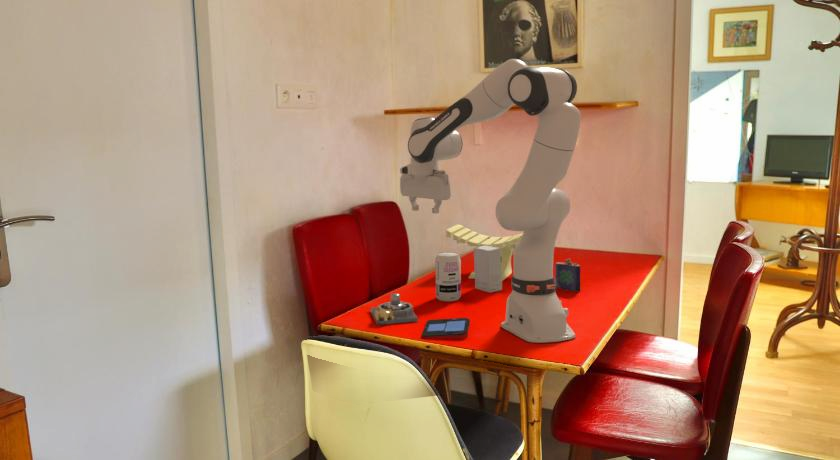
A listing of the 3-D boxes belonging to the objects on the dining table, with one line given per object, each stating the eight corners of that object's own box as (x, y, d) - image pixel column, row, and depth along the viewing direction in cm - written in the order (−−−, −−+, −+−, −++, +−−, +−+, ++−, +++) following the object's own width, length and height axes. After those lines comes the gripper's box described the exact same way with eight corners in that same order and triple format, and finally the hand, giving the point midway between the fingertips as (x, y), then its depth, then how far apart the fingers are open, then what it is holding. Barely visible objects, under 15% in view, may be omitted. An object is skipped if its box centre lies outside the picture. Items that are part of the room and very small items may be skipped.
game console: (427, 323, 192) (427, 316, 191) (470, 324, 190) (470, 317, 189) (420, 340, 177) (420, 332, 177) (467, 341, 176) (467, 333, 175)
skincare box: (502, 290, 224) (502, 248, 221) (488, 293, 220) (488, 250, 218) (486, 285, 230) (486, 244, 228) (473, 288, 227) (473, 246, 225)
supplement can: (447, 293, 221) (447, 250, 218) (465, 298, 215) (465, 253, 213) (430, 298, 215) (430, 254, 213) (449, 303, 210) (448, 257, 207)
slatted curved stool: (535, 272, 247) (536, 226, 244) (525, 282, 233) (525, 233, 230) (460, 267, 259) (460, 222, 256) (446, 276, 245) (446, 229, 242)
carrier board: (418, 321, 192) (418, 311, 191) (377, 325, 189) (377, 314, 189) (408, 308, 205) (408, 298, 205) (370, 311, 203) (369, 301, 202)
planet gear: (409, 312, 197) (408, 296, 196) (386, 314, 195) (385, 298, 194) (404, 306, 203) (404, 290, 202) (382, 308, 202) (382, 292, 201)
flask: (553, 288, 225) (554, 257, 223) (557, 286, 227) (558, 256, 225) (578, 292, 219) (579, 261, 217) (582, 290, 221) (582, 259, 220)
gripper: (454, 170, 203) (455, 213, 206) (410, 167, 218) (411, 208, 221) (440, 171, 199) (441, 216, 202) (396, 168, 214) (397, 210, 216)
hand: (425, 211), depth 211 cm, fingers open, 8 cm apart
